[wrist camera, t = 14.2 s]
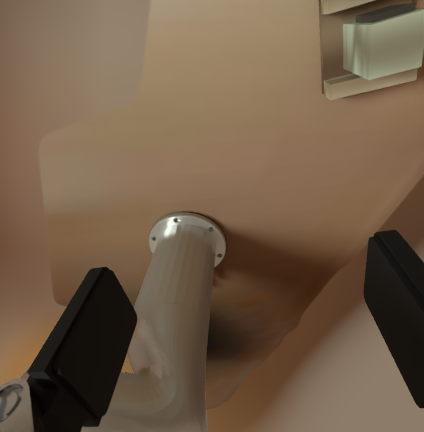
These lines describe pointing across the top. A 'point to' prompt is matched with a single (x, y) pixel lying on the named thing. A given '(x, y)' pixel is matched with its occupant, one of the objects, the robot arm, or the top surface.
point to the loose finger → (384, 41)
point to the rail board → (333, 49)
